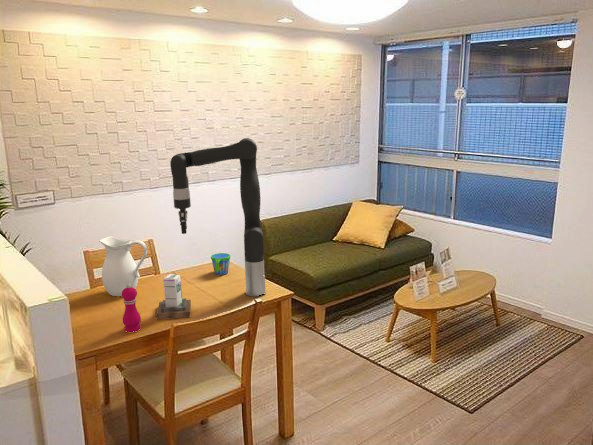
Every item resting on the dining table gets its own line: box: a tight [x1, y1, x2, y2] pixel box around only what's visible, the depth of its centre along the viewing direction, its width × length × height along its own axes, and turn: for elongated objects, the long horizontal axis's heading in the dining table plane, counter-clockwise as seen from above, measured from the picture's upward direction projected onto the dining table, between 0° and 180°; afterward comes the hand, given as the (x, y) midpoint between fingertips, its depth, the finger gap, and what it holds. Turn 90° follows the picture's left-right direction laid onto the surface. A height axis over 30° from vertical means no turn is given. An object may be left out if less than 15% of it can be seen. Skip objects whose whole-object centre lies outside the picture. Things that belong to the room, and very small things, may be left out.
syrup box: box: [162, 273, 183, 308], centre depth 218 cm, size 6×6×14 cm
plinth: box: [156, 298, 192, 321], centre depth 220 cm, size 14×14×4 cm
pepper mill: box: [121, 284, 142, 333], centre depth 201 cm, size 7×7×20 cm
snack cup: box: [210, 252, 231, 276], centre depth 270 cm, size 16×10×10 cm
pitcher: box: [98, 235, 148, 297], centre depth 240 cm, size 24×17×28 cm
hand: (184, 231), depth 231 cm, fingers open, 8 cm apart
